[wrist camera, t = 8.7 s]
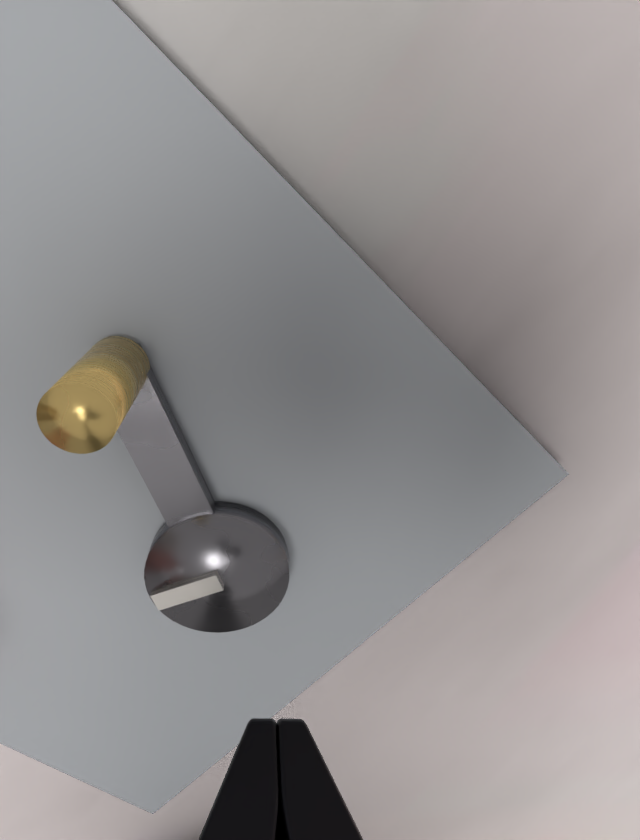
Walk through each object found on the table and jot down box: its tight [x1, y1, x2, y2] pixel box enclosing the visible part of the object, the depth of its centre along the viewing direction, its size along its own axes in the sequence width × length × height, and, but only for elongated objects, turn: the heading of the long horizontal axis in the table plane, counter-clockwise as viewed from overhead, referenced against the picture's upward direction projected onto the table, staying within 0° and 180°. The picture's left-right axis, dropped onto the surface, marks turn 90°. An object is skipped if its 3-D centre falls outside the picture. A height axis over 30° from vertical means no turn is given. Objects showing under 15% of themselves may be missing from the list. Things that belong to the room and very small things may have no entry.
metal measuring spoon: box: [36, 336, 289, 633], centre depth 17 cm, size 5×11×4 cm, turn 18°
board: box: [0, 0, 569, 814], centre depth 19 cm, size 26×24×1 cm
